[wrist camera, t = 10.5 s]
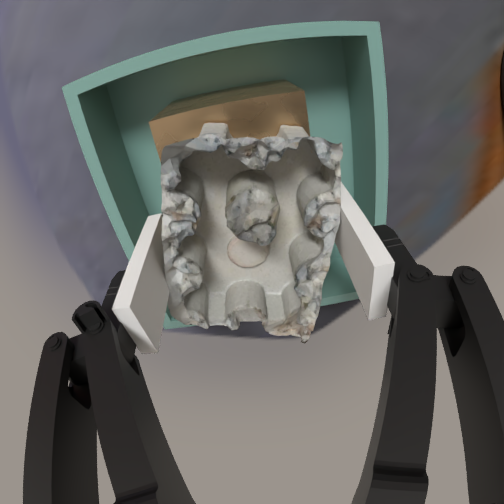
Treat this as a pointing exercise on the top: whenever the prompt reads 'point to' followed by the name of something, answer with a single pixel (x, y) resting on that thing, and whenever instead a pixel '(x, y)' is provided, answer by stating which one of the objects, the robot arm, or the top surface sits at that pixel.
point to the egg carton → (249, 227)
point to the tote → (227, 76)
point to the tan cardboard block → (233, 112)
